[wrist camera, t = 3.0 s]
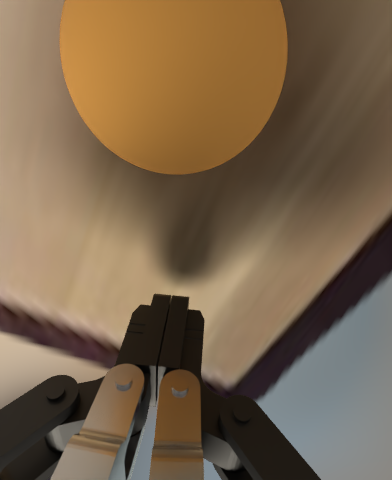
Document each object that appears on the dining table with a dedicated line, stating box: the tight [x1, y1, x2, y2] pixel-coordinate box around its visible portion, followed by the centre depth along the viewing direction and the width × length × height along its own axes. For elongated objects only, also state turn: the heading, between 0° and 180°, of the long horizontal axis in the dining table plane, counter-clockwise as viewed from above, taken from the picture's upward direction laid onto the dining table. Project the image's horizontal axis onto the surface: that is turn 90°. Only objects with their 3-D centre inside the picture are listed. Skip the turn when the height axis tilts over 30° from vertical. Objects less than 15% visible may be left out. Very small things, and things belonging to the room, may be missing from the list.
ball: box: [60, 0, 288, 175], centre depth 8 cm, size 5×5×5 cm
